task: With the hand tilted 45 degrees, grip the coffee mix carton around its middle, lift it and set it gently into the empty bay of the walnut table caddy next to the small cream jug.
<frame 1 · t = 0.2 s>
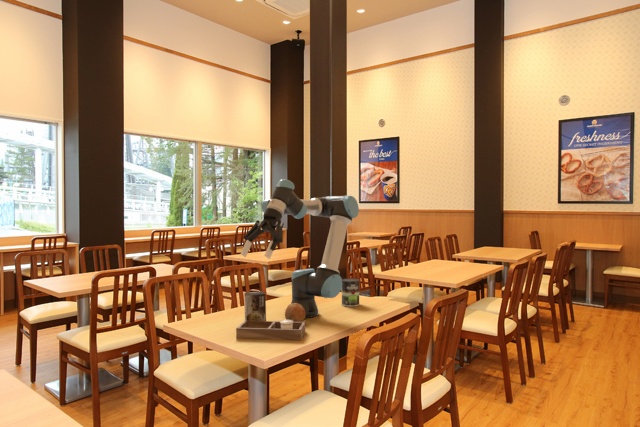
hand: (254, 256, 164), 35 cm above the table, tool tilted 35°, fingers open, 13 cm apart
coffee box: (255, 328, 187), on the table
coffee can: (350, 305, 231), on the table
caddy: (271, 336, 173), on the table
onion: (295, 324, 193), on the table
cream jug: (286, 335, 173), point 1 cm above the table, touching caddy
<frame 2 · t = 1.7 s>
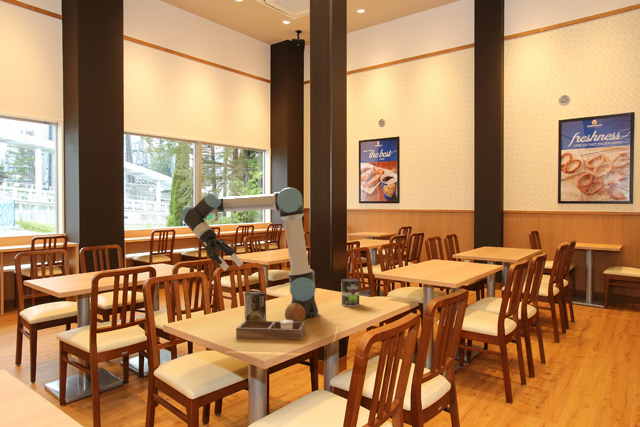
hand: (234, 266, 189), 28 cm above the table, tool tilted 45°, fingers open, 13 cm apart
nothing on the table moved.
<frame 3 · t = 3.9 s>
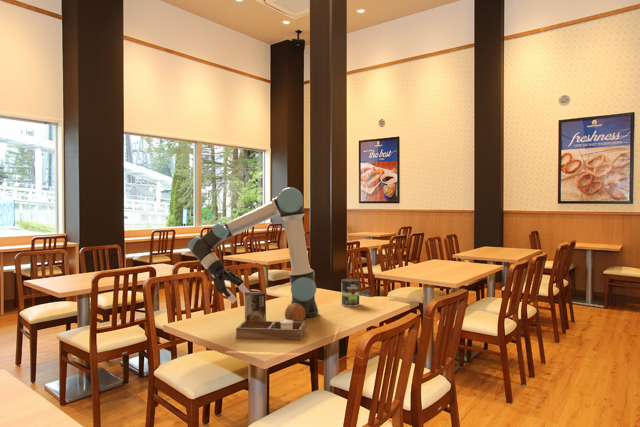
hand: (242, 298, 188), 13 cm above the table, tool tilted 45°, fingers open, 13 cm apart
nothing on the table moved.
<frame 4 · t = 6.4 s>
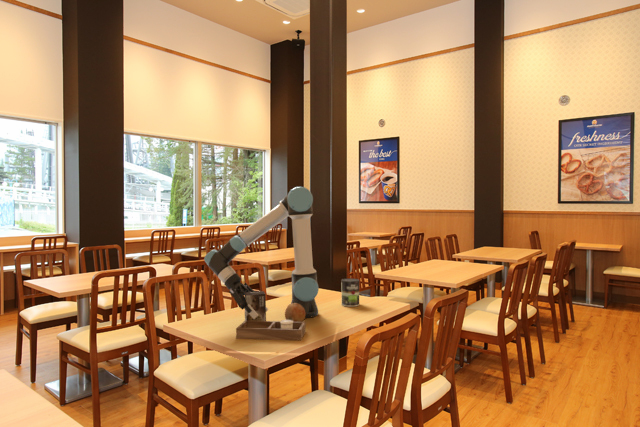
hand: (261, 314, 186), 6 cm above the table, tool tilted 45°, fingers closed on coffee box, 10 cm apart
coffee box: (255, 328, 187), on the table, touching gripper
everything else where it was.
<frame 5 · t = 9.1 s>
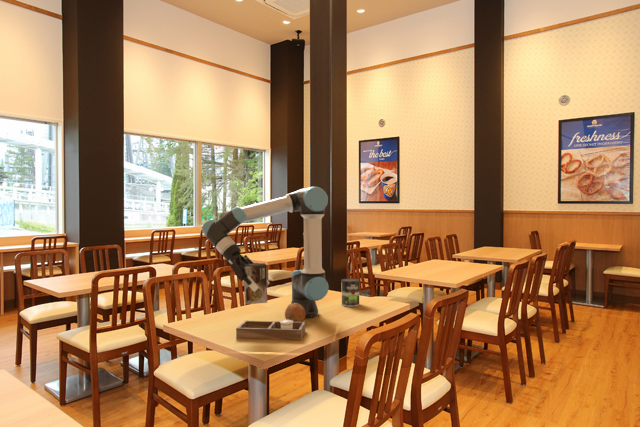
hand: (262, 287, 173), 21 cm above the table, tool tilted 45°, fingers closed on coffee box, 10 cm apart
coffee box: (255, 302, 174), point 14 cm above the table, touching gripper
everything else where it was.
when the fingers open (9 cm above the table, at t = 11.9 s): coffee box drops 2 cm, resting on caddy.
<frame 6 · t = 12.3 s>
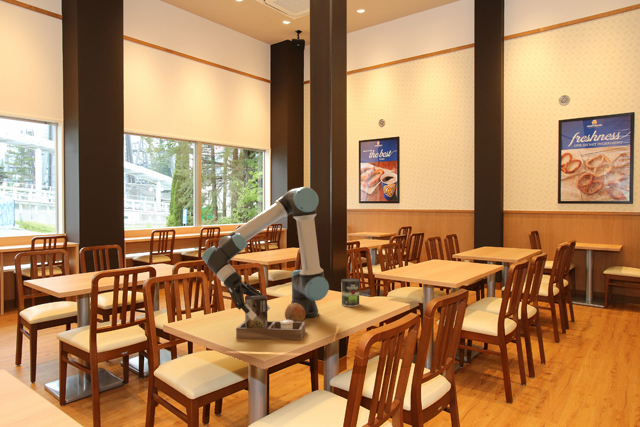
hand: (261, 314, 174), 10 cm above the table, tool tilted 45°, fingers open, 13 cm apart
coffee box: (256, 335, 174), point 1 cm above the table, touching caddy
everything else where it was.
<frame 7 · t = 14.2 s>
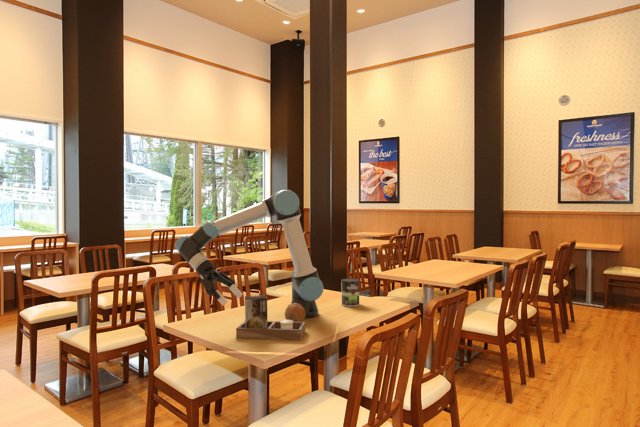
hand: (233, 300, 177), 15 cm above the table, tool tilted 45°, fingers open, 13 cm apart
nothing on the table moved.
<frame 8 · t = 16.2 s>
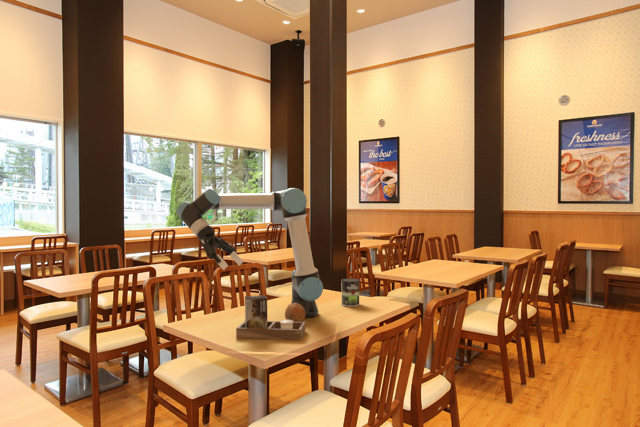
hand: (233, 265, 178), 30 cm above the table, tool tilted 45°, fingers open, 13 cm apart
nothing on the table moved.
at the end: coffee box inside the target area on the caddy (0.2 cm from its centre), point 0.6 cm above the caddy's base; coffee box tilted 0°; the gripper is holding nothing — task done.
